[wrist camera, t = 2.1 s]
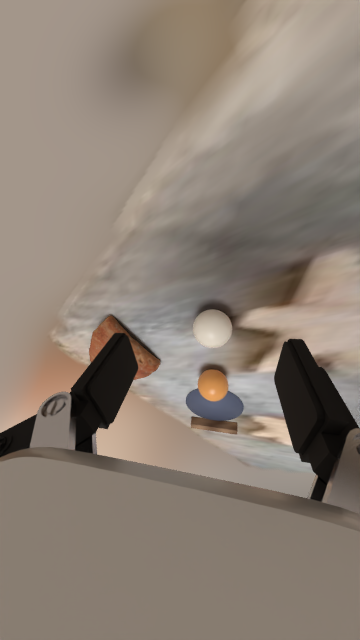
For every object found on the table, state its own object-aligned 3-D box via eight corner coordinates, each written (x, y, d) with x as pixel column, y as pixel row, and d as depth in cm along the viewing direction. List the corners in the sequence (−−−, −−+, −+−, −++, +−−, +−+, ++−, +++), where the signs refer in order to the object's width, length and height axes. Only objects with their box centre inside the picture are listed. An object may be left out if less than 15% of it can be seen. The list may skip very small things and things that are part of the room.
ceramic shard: (59, 356, 37) (104, 319, 32) (79, 340, 43) (121, 307, 37) (108, 403, 40) (157, 376, 35) (121, 382, 46) (165, 357, 41)
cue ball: (239, 318, 29) (242, 342, 25) (213, 337, 33) (211, 361, 28) (212, 295, 28) (210, 316, 23) (188, 317, 31) (182, 339, 26)
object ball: (234, 374, 37) (236, 401, 32) (213, 385, 40) (212, 411, 36) (213, 358, 36) (211, 384, 31) (193, 371, 39) (189, 396, 34)
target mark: (256, 409, 42) (256, 410, 42) (213, 424, 50) (213, 425, 50) (213, 379, 39) (213, 380, 39) (175, 400, 47) (175, 401, 47)
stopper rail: (236, 422, 47) (237, 430, 46) (236, 426, 48) (236, 434, 47) (191, 416, 50) (190, 424, 48) (192, 420, 51) (191, 427, 49)
